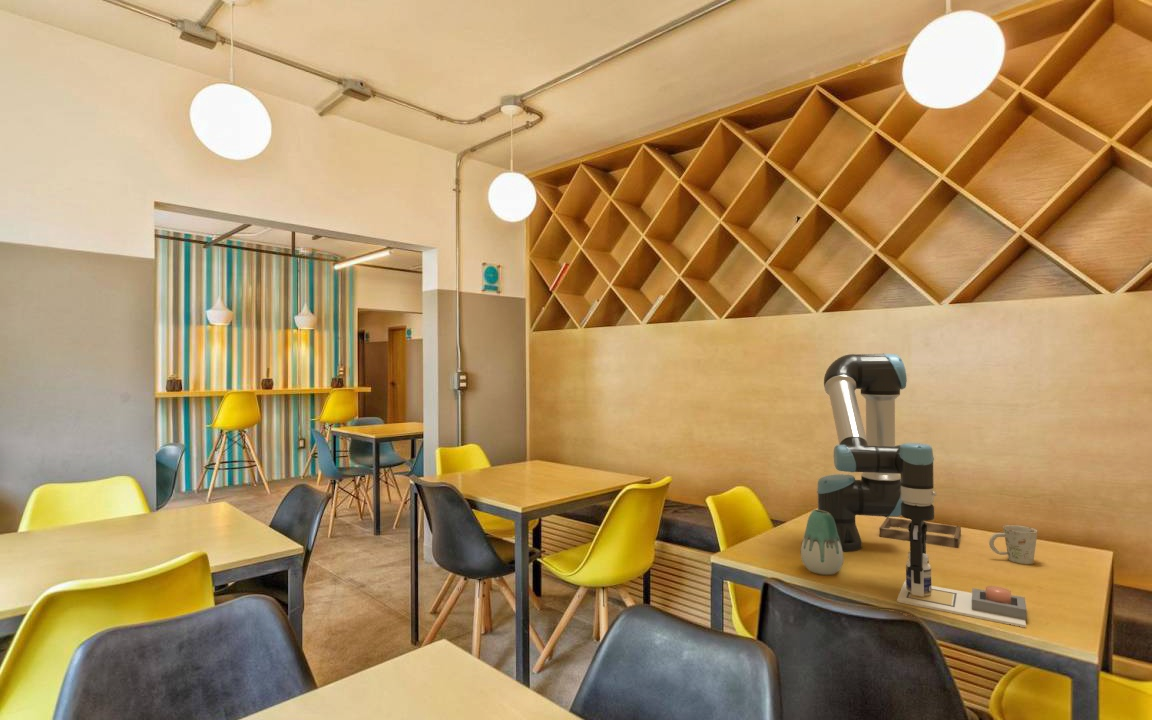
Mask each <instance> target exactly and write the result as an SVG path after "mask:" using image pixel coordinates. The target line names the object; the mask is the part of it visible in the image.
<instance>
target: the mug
mask: <svg viewBox="0 0 1152 720" xmlns="http://www.w3.org/2000/svg"><path fill="white" fill-rule="evenodd" d="M1002 529H1003V532H996V533H994V534H992V535H991V536H990V538H989V539H988V544H989V548H990V550H992V551H993V553H995V554H997V555H1000V556H1001V555H1002V556H1004V555H1005V556H1006V555H1007V556H1008V557H1007V558H1008V561H1010V562H1012V563H1016V564H1020V565H1033V564H1034V561H1035V560H1034V559H1035V554H1036V547H1037V546H1036V545H1037V538H1038V530H1037V529H1035V528H1032V527H1028V526H1023V525H1015V524H1014V525H1013V524H1012V525H1011V524H1008V525H1004V526H1003V527H1002ZM997 538H1004V539H1005V545H1006V546H1005V548H1006V551H999V550H998V549H997V548H996V546H995V540H996V539H997Z"/></svg>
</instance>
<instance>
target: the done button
mask: <svg viewBox="0 0 1152 720" xmlns="http://www.w3.org/2000/svg"><path fill="white" fill-rule="evenodd" d="M985 590H986V600H988V601H994V602H999V603H1004V604H1010V605H1011V595H1012V592H1011V590H1009V589H1008V588H1005V587H1002V586H995V585H994V586H993V585H988V586H985Z"/></svg>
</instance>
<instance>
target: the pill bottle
mask: <svg viewBox="0 0 1152 720" xmlns="http://www.w3.org/2000/svg"><path fill="white" fill-rule="evenodd" d="M929 557H930V556H929V554H927V553H926V554H924V553H923V566H922V568H923V573H924V596H929V595H931V586H932V566H931V564H930V563H927V562H928V561H929ZM907 559H908V560H907V561H906V563H905V581H906V589H907V591H908V592H910V593H911V570H909V569H908V567H910V551H909V552H907ZM929 562H930V561H929Z"/></svg>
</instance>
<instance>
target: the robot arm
mask: <svg viewBox="0 0 1152 720" xmlns="http://www.w3.org/2000/svg"><path fill="white" fill-rule="evenodd" d="M907 380H908V379H907V373H906V368H905V364H904V362H903V360H902V358H901V357H900V356H899V355H897V354H895V353H894V354H893V353H871V354H870V353H868V354H867V353H861V354H856V353H855V354H853V353H851V354H850V353H849V354H845V355H842V356H840V357H838V358H837V359H835V360H834V361H833V362H832V363H831V364H830V365H829V366H828V368H827V369H826V372H825V374H824V377H823V386H824V391H825V393H826V394H827V396H829V399H830V401H829V402H830V405H831V410H832V415H833V419H834V420H833V421H834V425H835V429H836V434H837V435H836V436H837V440H838V444H837V445H835V446H834V448H833V463H834V464H833V465H834V467H835V469H836V470H837V471H839V472H845V473H846V472H849V473H861V476H860V477H861V479H856V477H855V476H854V475H852V474H843V473H841V474H840V473H839V474H831V475H825V476H822V477H820V478H819V479H818V481H817V489H816V493H817V510H823V511H826V512H829V513H830V514H831V515H832V516H833V518H834V520H835V524H836V528H837V532H838V535H839V539H840V542H841V545H842V550H843V552H854V551H859V550H861V549H862V546H863V543H862V538H861V535H860V532H859V530H858V527H857V525H856V524H857V523H856V516H865V517H867V516H868V517H869V516H870V517H884V518H887V517H889V518H898V517H900V516H902V517H903V518H904V519H906V520H912V522H911V523H910V525H909V526H908V529H907V531H909V541H908V542H909V552H910V567H908V569H909V570H911V593H912V595H916V596H922V597H924V573H923V568H922V566H923V553H924V554H927V546H926V545H927V543H926V534H927V532H928V531H927V525H926V522H928V521H933V520H934V519H935V506H934V503H935V501H934V500H935V499H934V498H935V496H937V492H936V491H934V485H935V484H934V483H935V482H934V461H935V458H934V453H933V448H932V446H931V445H930V444H926V443H921V442H920V443H918V442H908V443H902V444H899V445H896V404H895V403H896V400H897V398H898V397H899V396H900V395H901V390H904V389H906V387H907ZM857 390H860V395H861V396H862V397H863V398H864V399H865V426H864V424H863V419H862V415H861V412H860V409H859V404H858V399H857V395H856V392H855V391H857ZM864 427H865V429H864ZM899 474H900V475H899ZM927 563H928V564H930V561H928V562H927Z"/></svg>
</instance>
